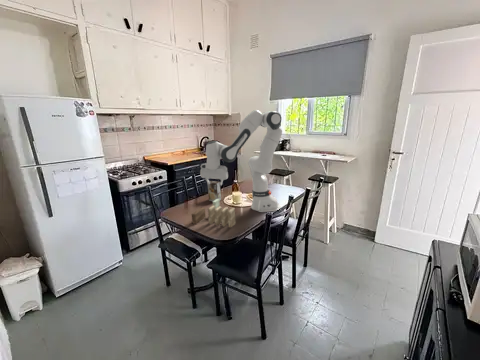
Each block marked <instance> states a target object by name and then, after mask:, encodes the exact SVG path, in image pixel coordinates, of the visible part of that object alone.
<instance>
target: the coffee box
mask: <svg viewBox="0 0 480 360" xmlns="http://www.w3.org/2000/svg"><path fill="white" fill-rule="evenodd" d="M209 181H210V184H207V193H208V202H213V201H214V200H216V199H219V202H220V201H221V199H222V195H221V185H219V183H220V182H221V181H216V180H215V181H213V180H209Z"/></svg>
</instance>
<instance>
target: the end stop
mask: <svg viewBox="0 0 480 360" xmlns="http://www.w3.org/2000/svg"><path fill="white" fill-rule="evenodd" d="M204 219H206V208H205V207H199V208H198V209H197V210H195V211H193V212H192V213H191V223H192V224H193V225H197V224H198V223H200V222H201V221H203V220H204Z"/></svg>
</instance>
